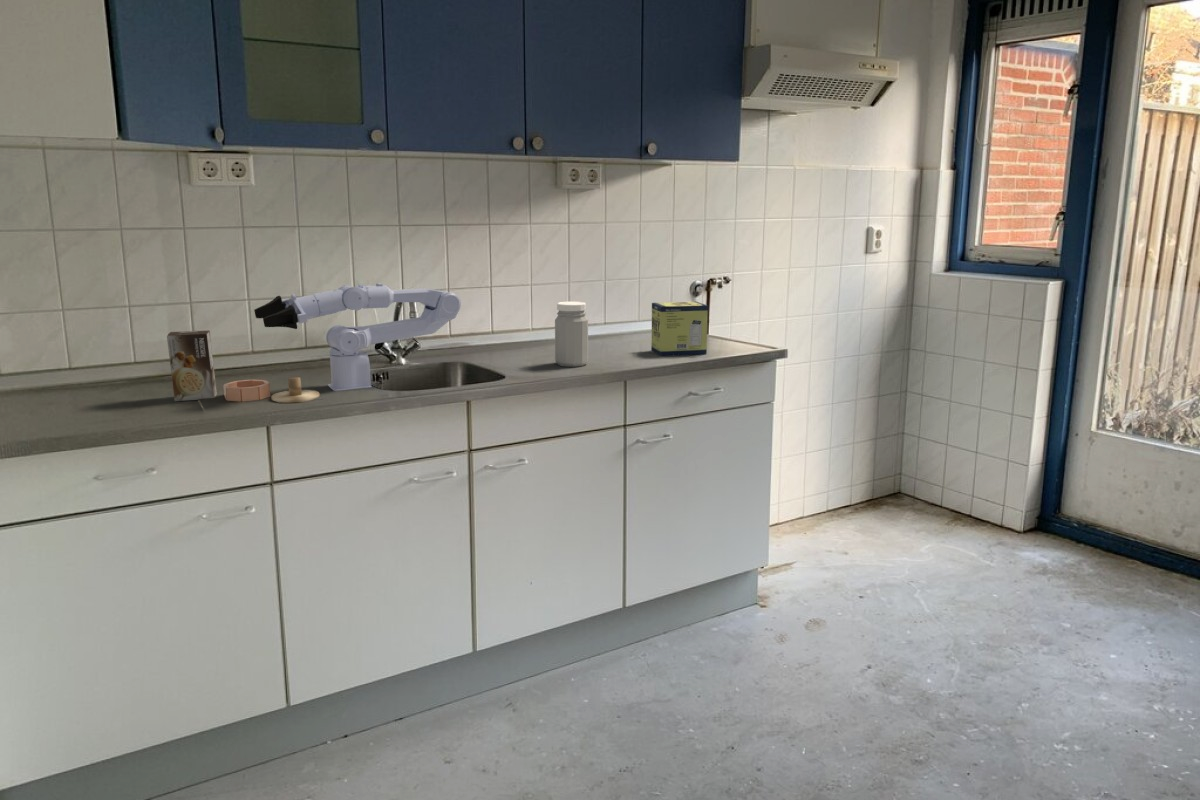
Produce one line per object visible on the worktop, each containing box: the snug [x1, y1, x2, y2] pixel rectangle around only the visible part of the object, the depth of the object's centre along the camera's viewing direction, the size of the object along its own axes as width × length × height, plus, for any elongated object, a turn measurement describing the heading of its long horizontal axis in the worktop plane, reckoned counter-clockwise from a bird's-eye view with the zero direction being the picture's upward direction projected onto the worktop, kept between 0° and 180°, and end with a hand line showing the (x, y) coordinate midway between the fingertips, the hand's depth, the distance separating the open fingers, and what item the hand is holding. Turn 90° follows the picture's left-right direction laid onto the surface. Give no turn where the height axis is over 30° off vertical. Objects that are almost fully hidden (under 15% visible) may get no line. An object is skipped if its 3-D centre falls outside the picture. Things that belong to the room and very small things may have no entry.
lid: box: [270, 376, 321, 404], centre depth 216 cm, size 11×11×5 cm
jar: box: [554, 300, 589, 368], centre depth 260 cm, size 10×10×18 cm
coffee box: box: [166, 330, 218, 402], centre depth 216 cm, size 9×6×16 cm
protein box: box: [650, 300, 709, 357], centre depth 281 cm, size 10×16×16 cm
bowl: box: [223, 379, 271, 403], centre depth 217 cm, size 10×10×4 cm
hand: (259, 318), depth 215 cm, fingers open, 7 cm apart
